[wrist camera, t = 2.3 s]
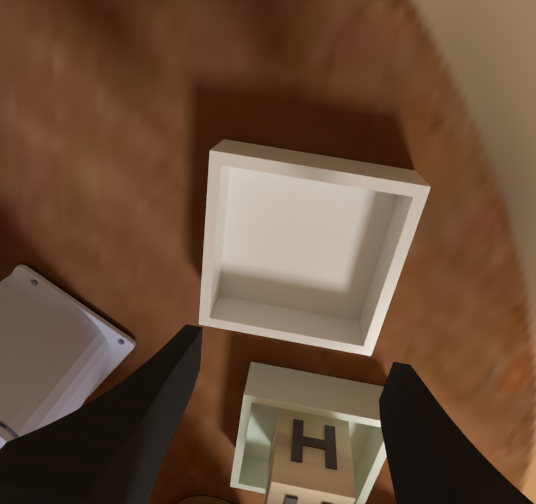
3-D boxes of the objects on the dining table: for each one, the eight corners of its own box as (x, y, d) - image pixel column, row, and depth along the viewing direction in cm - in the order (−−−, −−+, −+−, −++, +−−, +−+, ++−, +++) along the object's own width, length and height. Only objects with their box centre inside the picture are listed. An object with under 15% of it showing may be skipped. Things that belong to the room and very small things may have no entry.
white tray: (211, 296, 24) (198, 324, 22) (224, 139, 20) (209, 150, 17) (364, 324, 24) (371, 356, 21) (414, 170, 19) (430, 186, 16)
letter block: (333, 455, 29) (337, 545, 24) (270, 443, 29) (260, 529, 24) (348, 411, 27) (356, 499, 21) (280, 398, 27) (271, 482, 21)
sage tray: (237, 450, 31) (229, 486, 28) (250, 361, 26) (243, 394, 24) (356, 474, 31) (360, 513, 28) (392, 388, 26) (400, 424, 23)
